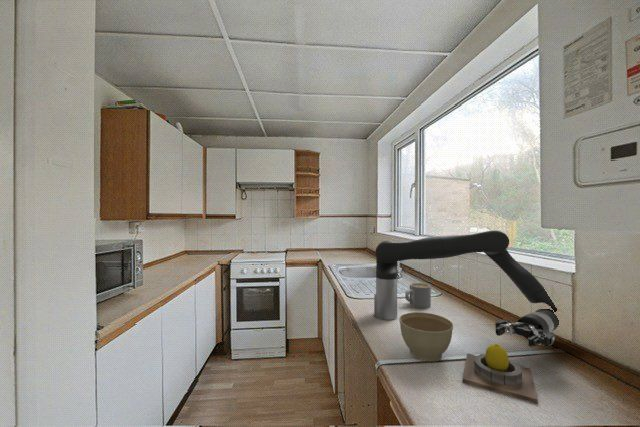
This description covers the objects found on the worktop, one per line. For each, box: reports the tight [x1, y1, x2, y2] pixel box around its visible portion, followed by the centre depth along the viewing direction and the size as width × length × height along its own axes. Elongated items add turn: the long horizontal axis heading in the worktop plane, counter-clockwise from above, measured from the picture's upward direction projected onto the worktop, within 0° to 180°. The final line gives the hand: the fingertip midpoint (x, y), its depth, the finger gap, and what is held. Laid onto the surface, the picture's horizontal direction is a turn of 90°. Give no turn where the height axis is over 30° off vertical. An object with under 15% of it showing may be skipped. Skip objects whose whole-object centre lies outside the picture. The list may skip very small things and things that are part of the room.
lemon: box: [484, 343, 510, 372], centre depth 77 cm, size 6×6×8 cm
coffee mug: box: [404, 282, 432, 309], centre depth 139 cm, size 13×10×10 cm
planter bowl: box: [399, 311, 454, 363], centre depth 89 cm, size 16×16×11 cm
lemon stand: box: [462, 353, 539, 404], centre depth 77 cm, size 16×16×4 cm
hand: (513, 337), depth 82 cm, fingers open, 8 cm apart
